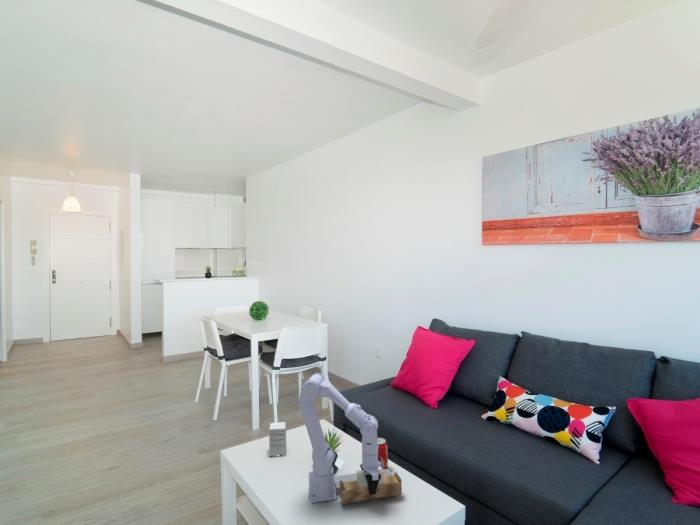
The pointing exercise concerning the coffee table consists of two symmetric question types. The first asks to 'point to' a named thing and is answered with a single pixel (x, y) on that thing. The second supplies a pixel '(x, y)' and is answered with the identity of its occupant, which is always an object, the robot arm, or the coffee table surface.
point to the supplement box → (277, 438)
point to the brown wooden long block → (355, 493)
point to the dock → (351, 479)
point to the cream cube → (381, 475)
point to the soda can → (382, 453)
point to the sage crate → (362, 478)
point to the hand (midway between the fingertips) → (370, 489)
